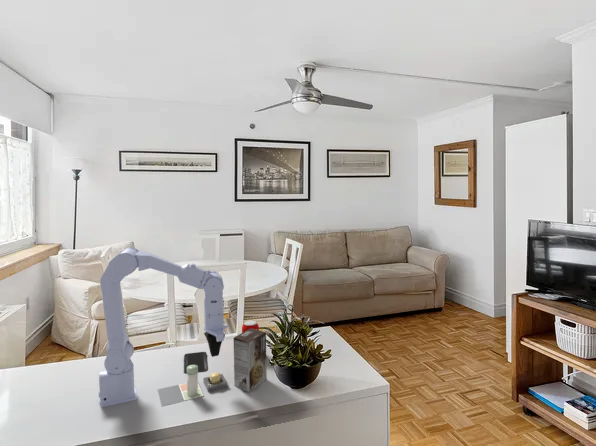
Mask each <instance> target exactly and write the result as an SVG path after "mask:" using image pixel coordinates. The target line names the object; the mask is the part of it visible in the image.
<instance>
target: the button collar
mask: <svg viewBox="0 0 596 446" xmlns="http://www.w3.org/2000/svg"><path fill="white" fill-rule="evenodd" d="M220 379H221V382H220V383H216V384H210V376H206V377H203V385H204V386H205V389H206V391H207V393H208V392H213V391H217V390H222V389H226V388H228V381H227V379H226V378H225V377H224V374H223V373H220Z"/></svg>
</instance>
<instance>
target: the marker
mask: <svg viewBox="0 0 596 446" xmlns="http://www.w3.org/2000/svg"><path fill="white" fill-rule="evenodd" d="M198 374H199V372H198V366H197V365H189V366H187V374H186V378H187V379H186V383H187V395H188V396H191V397H192V396H196V395H197V394H198V383H199V381H198V376H199V375H198Z"/></svg>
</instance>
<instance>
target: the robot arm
mask: <svg viewBox="0 0 596 446" xmlns="http://www.w3.org/2000/svg"><path fill="white" fill-rule="evenodd" d="M137 268H138V269H137ZM136 269H137V270H138V272H141V271H145V270H149V269H152V270H155V271H158V272H162V273H165V274H169V275H172V276H175V277H177V278H178V281H179V282H180V283H182V284H185V285H187V286H191V287H193V288H196V289H198V290H203V291H204V298H203V304H204V305H203V306H204V307H203V308H204V309H203V313H204V327H203V331H204V332H203V335H204V336H205V338H206V341H207V345H208V349H209V353H210V356H211V357H212V358H213V357H218V356H219V355H220V351H221V347H222V343H223V341H225V337H226V334H225V333H224V332H225V329H228V326H229V325H228V324H227V323H224V322H225V320H224V315H225V314H224V313H225V312H224V297H223V295H224V291H223V290H224V287H225V285H224V280H223V277H222V275H220V274H219V273H218V272H217V271H211V270H210V269H207V270H205V269H203V268H199V267H198V266H197V265H196V264H195V263H191V264H189V263H186V264H184V265H180V264H177V263H174V262H173V261H170V260H168V259H165V258H163V257H160V256H158V255H156V254H153V253H152V252H151V253H150V252H147V251H146V250H142V249H138V248H135V247H126V248H124V249H122V250H121V251H120V252H119V253H118V254H116V255H115V256H114V257H113V258H112V259H111V260H110V261H109V262H108V265H107V267H106V268H105V270H104V272H103V274H102V275H101V277H100V279H99V281H100V283H99V284H100V289H101V296H102V297H101V298H102V305H103V312H104V321H105V327H106V329H105V330H106V335H107V342H106V343H107V344H106V349H105V351H106V358H105V360H104V363H103V364H104V370H101V371H99V373H98V385H99V391H98V398H99V403H100V406H99V407H100V408H104V407H108V406H113V405H114V406H115V405H118V404H122V403H125V402H131V401H135V400H137V399H138V396H137V388H136V386H135V374H134V373H135V371H134V370H135V369H134V368H135V367H134V363H133V361H132V359H131V358H132V356H133V354H134V352H135V351H134V350H135V349H134V346H133V343H132V342H131V341H130V336H129V334H128V333H127V329H126V327H127V326H126V319H125V311H124V303H123V295H122V288H121V287H122V286H121V281H123V280H124V278H126V277H128V276H129V275H130V274H133V273H134V272H135V271H136Z"/></svg>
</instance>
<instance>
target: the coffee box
mask: <svg viewBox="0 0 596 446" xmlns="http://www.w3.org/2000/svg"><path fill="white" fill-rule="evenodd" d="M233 370H234V371H233V376H234V377H233V378H234V379H233V381H234V382H233V384H234V385H233V386H234V387H238V388H240V389H241V390H243V391H245V392H247V393H250V392H252V391H253V390H255V389H256V388H257V387H259V386H260V385H261V384H263V383H264V382H265V381H267V332H266V331H262V330H260V329H259V330H256V329H252V328H250V329H248V330H247V331H245V332H243V333H242V332H241V333H239V334H238V335H236V336H234V337H233Z"/></svg>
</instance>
